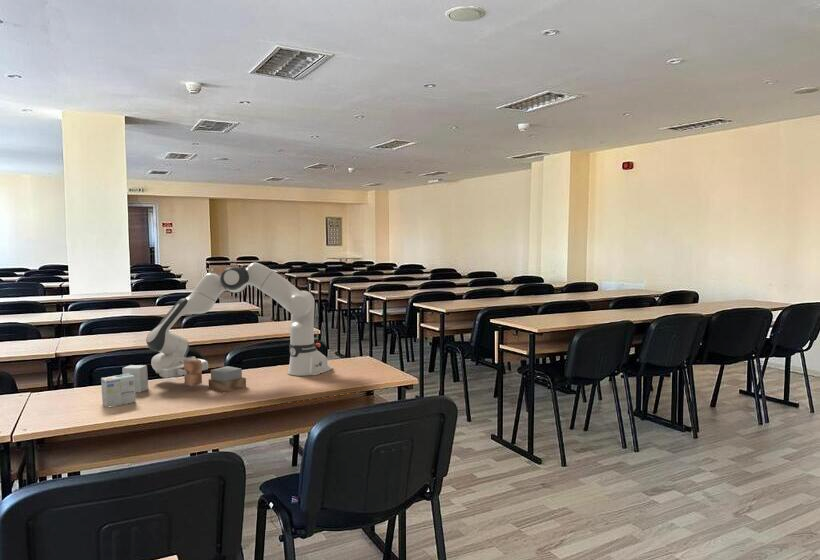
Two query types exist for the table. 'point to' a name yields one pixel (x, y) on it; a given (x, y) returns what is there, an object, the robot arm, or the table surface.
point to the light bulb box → (118, 390)
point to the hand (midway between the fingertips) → (194, 371)
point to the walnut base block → (227, 384)
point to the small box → (138, 376)
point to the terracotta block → (193, 372)
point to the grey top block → (226, 374)
